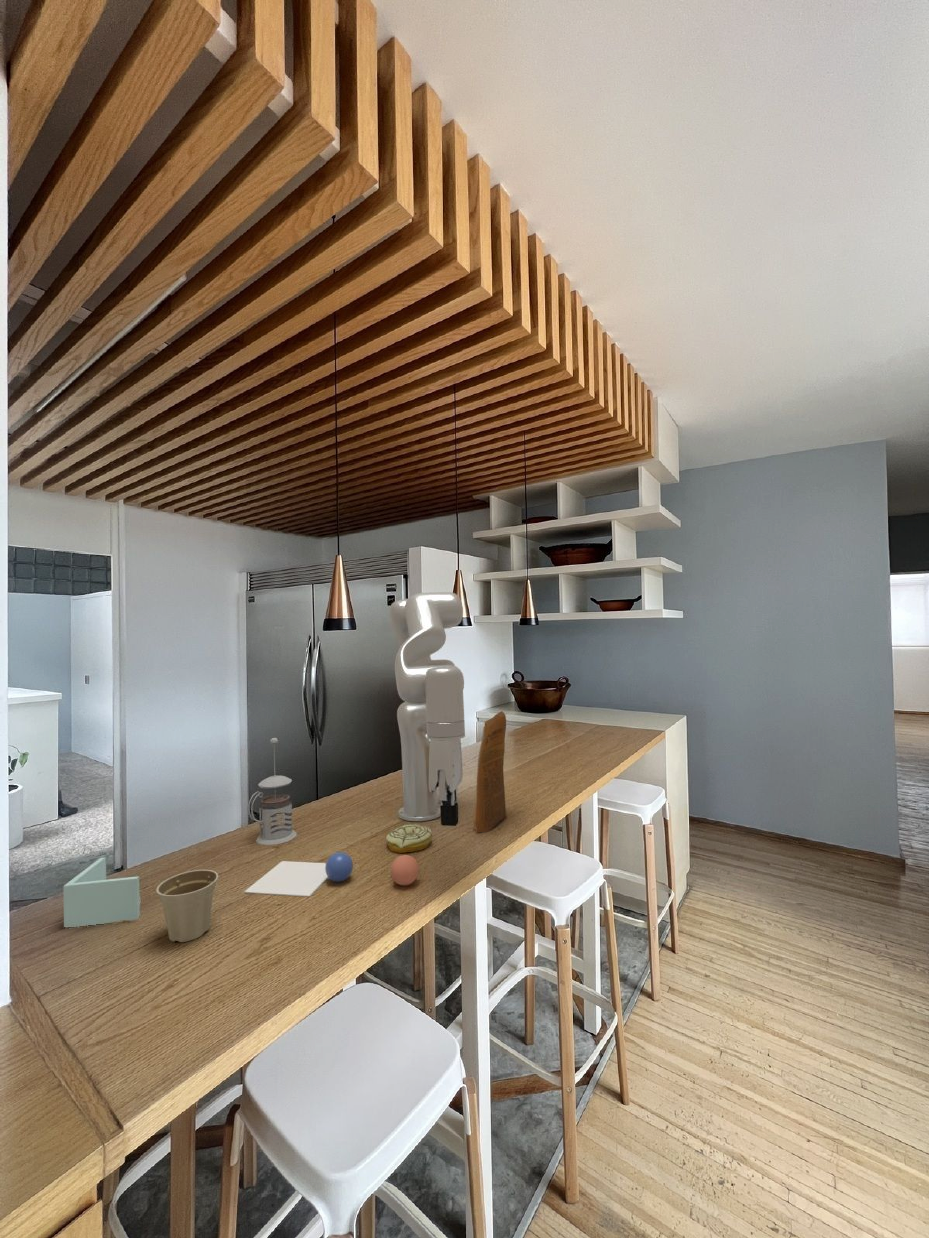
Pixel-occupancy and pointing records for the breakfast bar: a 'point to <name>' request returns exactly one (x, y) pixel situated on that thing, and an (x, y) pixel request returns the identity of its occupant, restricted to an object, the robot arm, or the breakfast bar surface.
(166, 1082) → the breakfast bar surface
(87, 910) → the right angle wall
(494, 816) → the pancake mix bag
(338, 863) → the blue ball
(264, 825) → the french press
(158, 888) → the flower pot
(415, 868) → the pink smooth round ball
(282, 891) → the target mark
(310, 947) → the breakfast bar surface
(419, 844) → the decorated donut
